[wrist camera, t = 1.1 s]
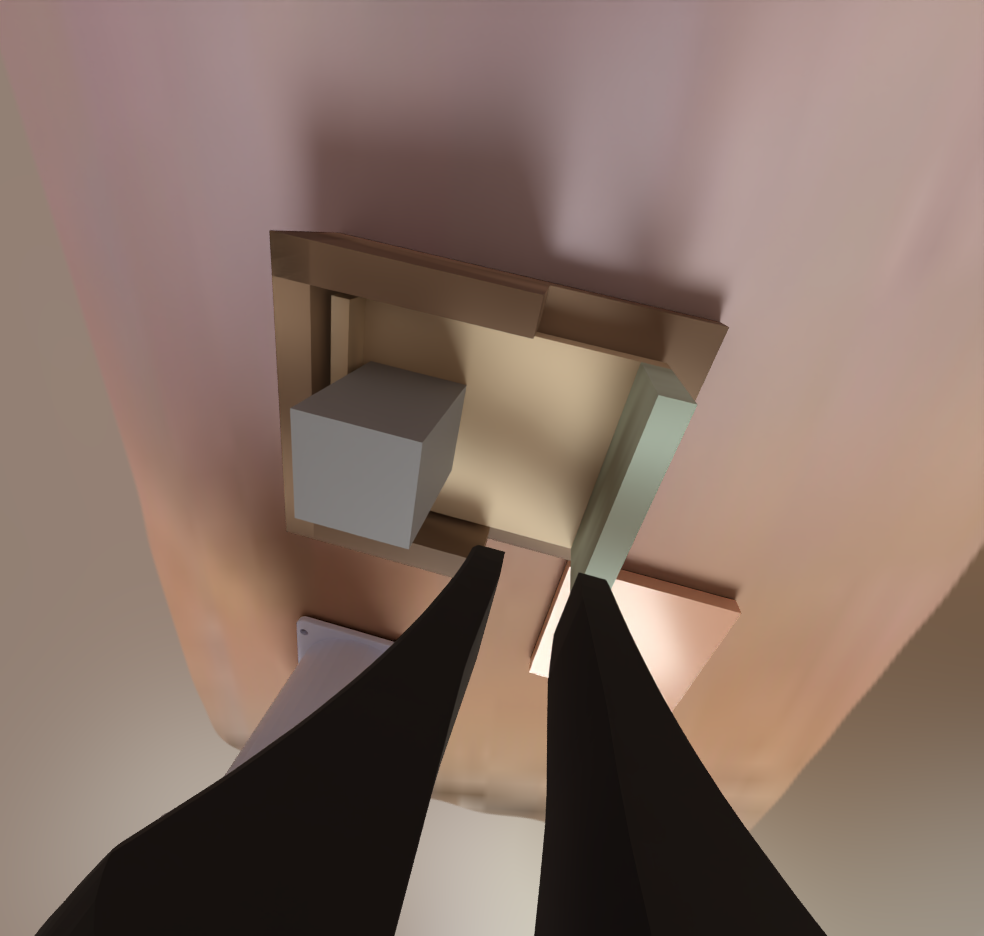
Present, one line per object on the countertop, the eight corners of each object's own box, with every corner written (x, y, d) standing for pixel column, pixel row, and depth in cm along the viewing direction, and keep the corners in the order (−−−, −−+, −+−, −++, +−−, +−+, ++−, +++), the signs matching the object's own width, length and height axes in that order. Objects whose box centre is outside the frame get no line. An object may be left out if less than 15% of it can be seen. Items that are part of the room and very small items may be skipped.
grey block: (451, 470, 17) (408, 549, 13) (365, 447, 17) (294, 518, 13) (466, 385, 15) (422, 442, 11) (370, 361, 15) (289, 407, 11)
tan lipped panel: (593, 543, 18) (597, 618, 15) (352, 478, 19) (298, 534, 15) (667, 363, 14) (697, 404, 11) (359, 288, 15) (290, 304, 11)
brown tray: (614, 558, 20) (621, 625, 17) (334, 483, 21) (286, 531, 18) (720, 322, 15) (763, 347, 11) (338, 232, 16) (269, 230, 12)
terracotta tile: (668, 699, 24) (670, 713, 23) (530, 659, 24) (528, 672, 24) (735, 600, 20) (741, 613, 19) (569, 555, 21) (569, 566, 20)
